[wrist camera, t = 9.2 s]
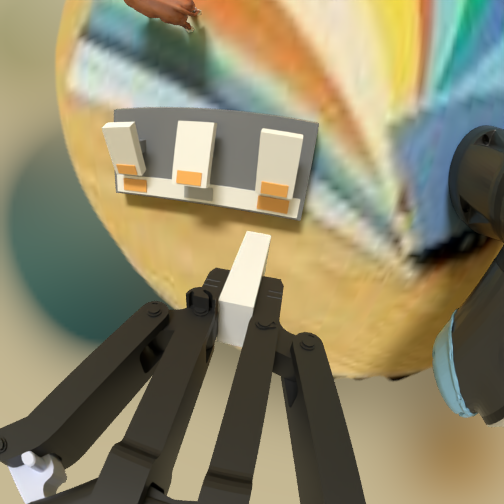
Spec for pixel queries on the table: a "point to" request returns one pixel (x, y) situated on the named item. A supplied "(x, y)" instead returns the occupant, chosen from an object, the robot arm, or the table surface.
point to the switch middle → (193, 153)
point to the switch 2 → (278, 163)
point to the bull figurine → (167, 10)
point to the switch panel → (216, 158)
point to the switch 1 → (124, 148)
